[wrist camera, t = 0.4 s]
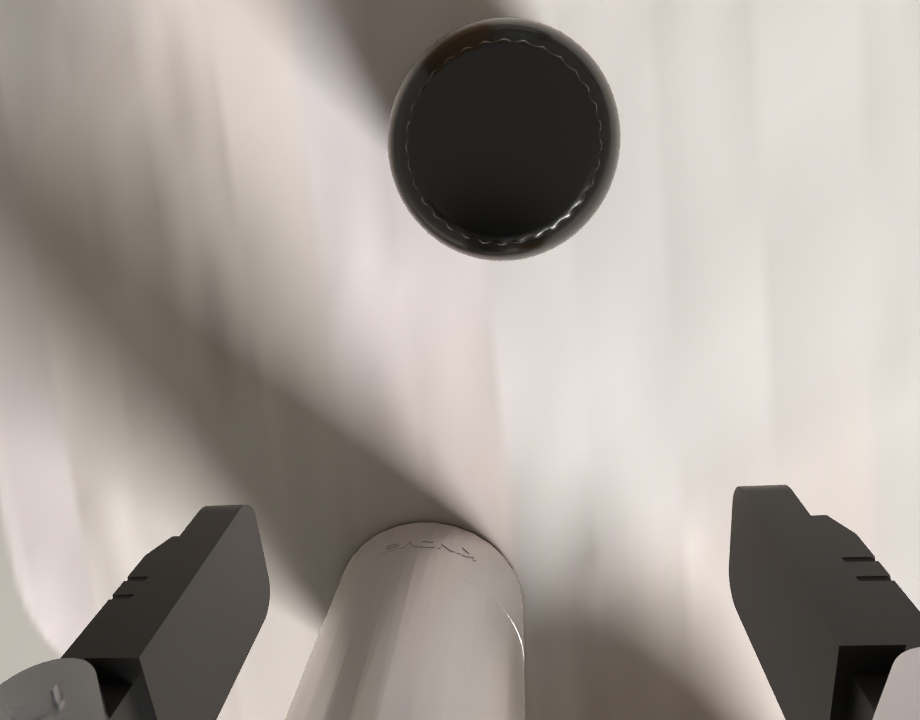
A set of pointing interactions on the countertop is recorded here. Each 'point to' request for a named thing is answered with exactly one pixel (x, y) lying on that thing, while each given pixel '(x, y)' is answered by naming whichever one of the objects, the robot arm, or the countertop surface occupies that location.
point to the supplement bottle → (503, 139)
